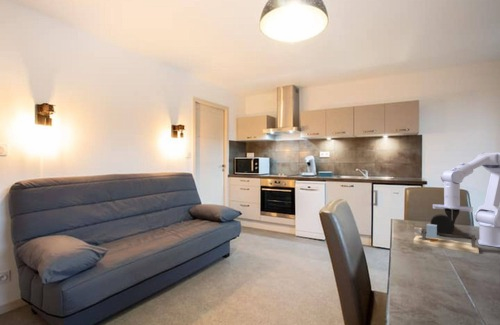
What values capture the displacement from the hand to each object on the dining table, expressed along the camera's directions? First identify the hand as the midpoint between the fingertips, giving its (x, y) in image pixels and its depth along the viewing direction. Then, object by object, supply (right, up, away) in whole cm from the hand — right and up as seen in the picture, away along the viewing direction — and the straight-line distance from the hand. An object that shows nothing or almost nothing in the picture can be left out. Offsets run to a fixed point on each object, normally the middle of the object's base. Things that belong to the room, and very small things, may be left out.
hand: (452, 225), depth 119 cm
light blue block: (-5, -7, +6) cm, 11 cm away
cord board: (-1, -10, +3) cm, 11 cm away
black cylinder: (+18, -10, +31) cm, 38 cm away
